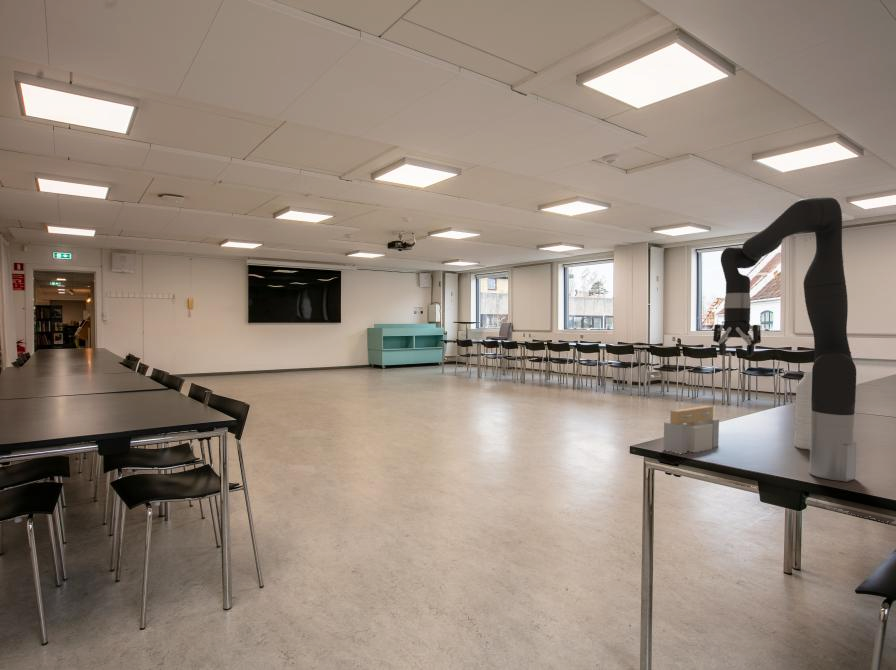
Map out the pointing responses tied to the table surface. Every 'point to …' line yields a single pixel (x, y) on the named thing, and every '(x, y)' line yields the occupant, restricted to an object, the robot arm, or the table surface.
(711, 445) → the notched grey block
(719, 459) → the table surface
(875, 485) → the table surface
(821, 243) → the robot arm
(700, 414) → the tan wooden bar
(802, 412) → the water bottle
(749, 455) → the table surface
